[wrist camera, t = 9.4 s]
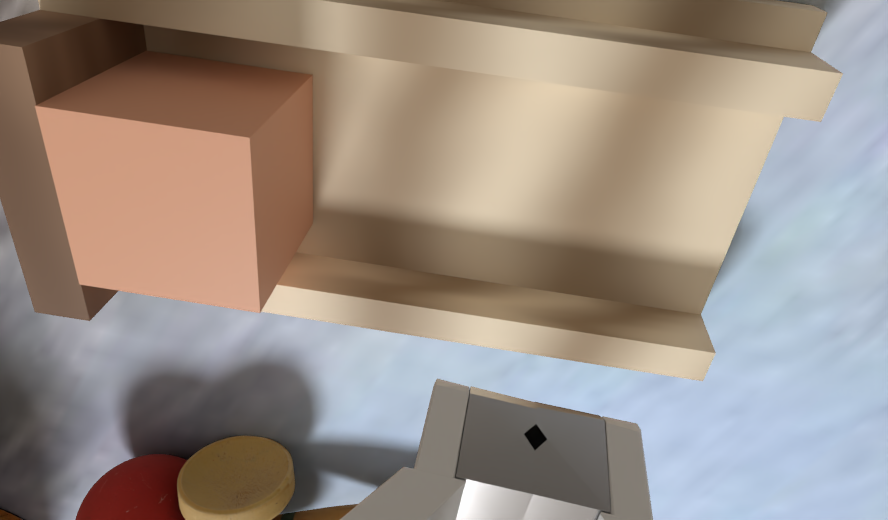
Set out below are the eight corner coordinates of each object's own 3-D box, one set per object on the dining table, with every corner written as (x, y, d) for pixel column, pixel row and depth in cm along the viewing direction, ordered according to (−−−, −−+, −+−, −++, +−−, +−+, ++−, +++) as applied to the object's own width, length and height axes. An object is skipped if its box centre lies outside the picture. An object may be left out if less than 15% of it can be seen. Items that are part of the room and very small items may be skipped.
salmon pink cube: (312, 75, 18) (249, 137, 14) (313, 222, 21) (260, 312, 17) (146, 50, 19) (35, 105, 14) (167, 201, 21) (79, 284, 17)
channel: (812, 5, 17) (934, 66, 12) (674, 344, 23) (715, 477, 18) (91, -94, 18) (-84, -77, 13) (151, 263, 24) (52, 369, 19)
